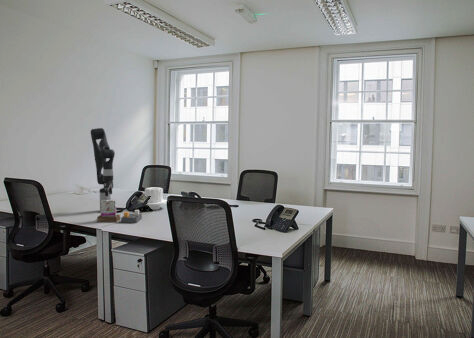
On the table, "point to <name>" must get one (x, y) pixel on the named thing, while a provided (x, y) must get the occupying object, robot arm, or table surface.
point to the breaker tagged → (126, 214)
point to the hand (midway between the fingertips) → (108, 195)
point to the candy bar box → (108, 208)
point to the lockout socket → (108, 219)
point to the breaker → (136, 212)
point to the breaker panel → (131, 218)
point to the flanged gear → (155, 197)
